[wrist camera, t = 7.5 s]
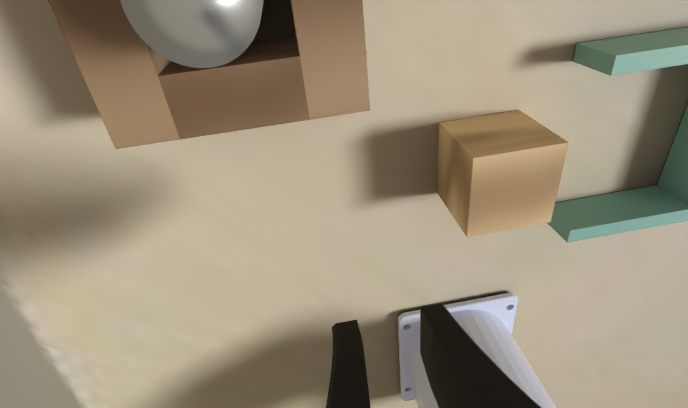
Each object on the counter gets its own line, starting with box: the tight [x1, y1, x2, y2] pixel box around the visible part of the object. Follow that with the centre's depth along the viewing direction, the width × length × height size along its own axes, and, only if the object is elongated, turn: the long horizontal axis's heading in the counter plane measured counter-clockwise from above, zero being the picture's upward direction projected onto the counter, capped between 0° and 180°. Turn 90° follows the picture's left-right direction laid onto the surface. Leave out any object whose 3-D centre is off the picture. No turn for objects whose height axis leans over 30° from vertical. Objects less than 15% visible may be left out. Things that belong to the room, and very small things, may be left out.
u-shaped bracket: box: [548, 27, 688, 242], centre depth 20 cm, size 10×8×2 cm
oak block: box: [437, 110, 568, 237], centre depth 19 cm, size 4×4×4 cm
